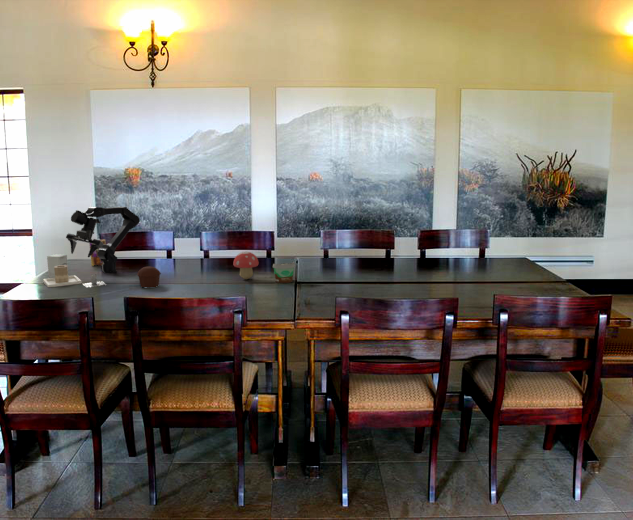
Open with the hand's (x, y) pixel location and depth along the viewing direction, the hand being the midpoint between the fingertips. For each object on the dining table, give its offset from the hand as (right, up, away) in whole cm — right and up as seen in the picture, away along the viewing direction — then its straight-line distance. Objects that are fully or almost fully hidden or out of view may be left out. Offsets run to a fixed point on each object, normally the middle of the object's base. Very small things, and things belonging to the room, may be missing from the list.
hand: (80, 255), depth 312 cm
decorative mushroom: (+91, -13, -4) cm, 92 cm away
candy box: (-4, -6, +38) cm, 38 cm away
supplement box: (-13, -12, +3) cm, 18 cm away
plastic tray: (-5, -15, -11) cm, 19 cm away
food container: (+112, -14, -11) cm, 114 cm away
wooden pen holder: (-5, -14, -11) cm, 19 cm away
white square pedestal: (+14, -16, -15) cm, 26 cm away
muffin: (+43, -16, -18) cm, 49 cm away
